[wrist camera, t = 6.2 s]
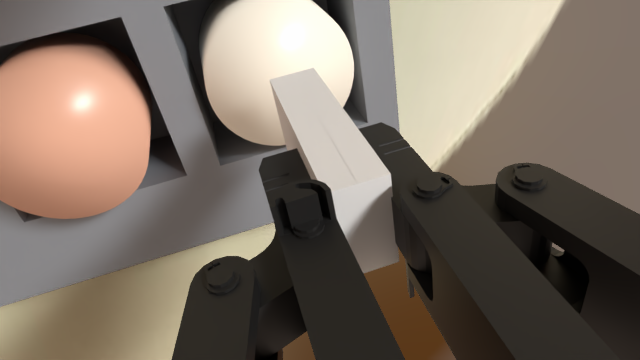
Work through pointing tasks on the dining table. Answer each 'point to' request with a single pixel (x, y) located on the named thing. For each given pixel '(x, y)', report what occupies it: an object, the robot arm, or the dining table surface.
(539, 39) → the dining table surface
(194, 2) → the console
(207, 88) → the button cream
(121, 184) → the button terracotta
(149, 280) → the dining table surface
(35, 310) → the dining table surface
